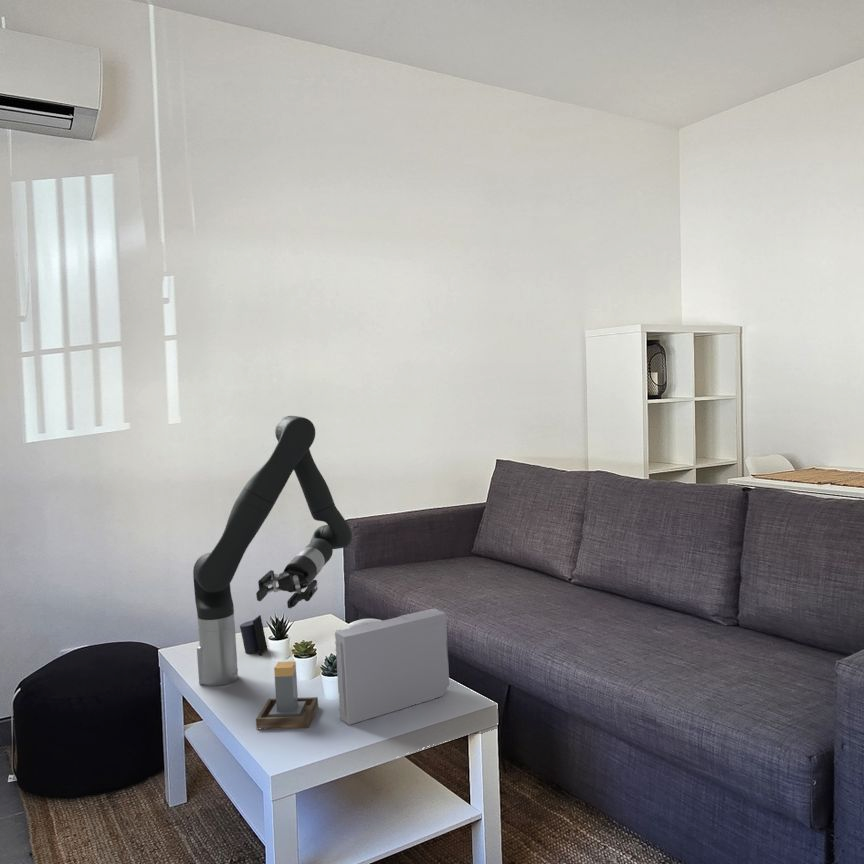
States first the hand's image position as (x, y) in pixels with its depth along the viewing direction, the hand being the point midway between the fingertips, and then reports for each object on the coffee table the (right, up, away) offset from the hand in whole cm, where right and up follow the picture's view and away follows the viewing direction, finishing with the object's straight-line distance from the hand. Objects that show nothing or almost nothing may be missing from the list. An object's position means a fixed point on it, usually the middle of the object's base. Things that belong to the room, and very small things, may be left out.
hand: (273, 601), depth 193 cm
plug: (+6, -23, -13) cm, 27 cm away
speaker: (-13, -22, +36) cm, 44 cm away
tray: (+6, -24, -13) cm, 28 cm away
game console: (+30, -23, -9) cm, 39 cm away
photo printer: (+21, -22, +20) cm, 37 cm away
